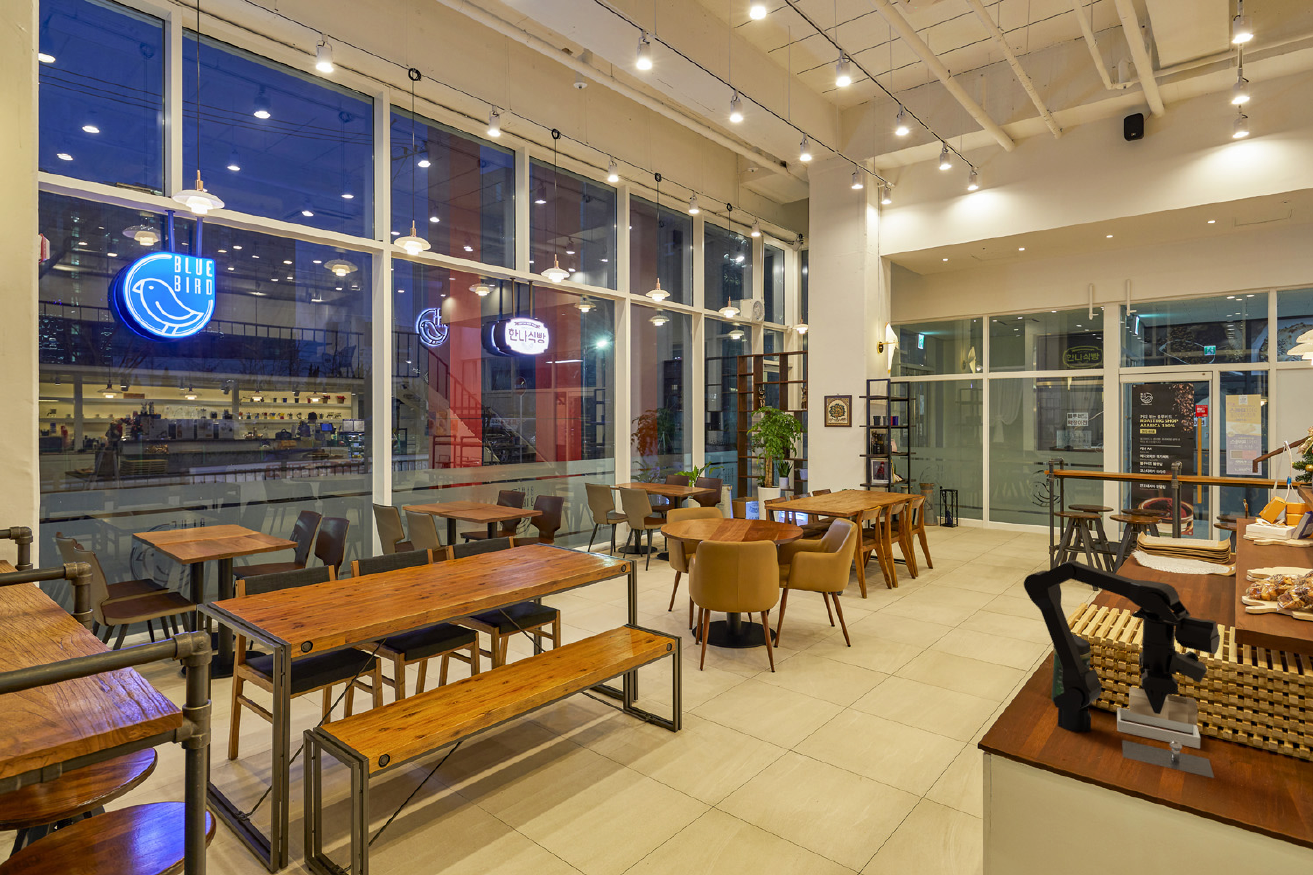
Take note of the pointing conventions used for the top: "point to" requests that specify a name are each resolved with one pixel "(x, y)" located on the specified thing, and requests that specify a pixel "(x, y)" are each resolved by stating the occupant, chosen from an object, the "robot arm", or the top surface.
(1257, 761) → the top surface
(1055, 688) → the coffee jar
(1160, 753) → the stud base
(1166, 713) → the beige rectangular block
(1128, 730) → the tray
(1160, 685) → the robot arm
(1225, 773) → the top surface
